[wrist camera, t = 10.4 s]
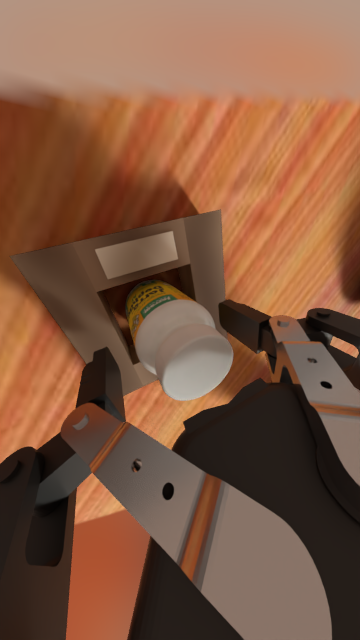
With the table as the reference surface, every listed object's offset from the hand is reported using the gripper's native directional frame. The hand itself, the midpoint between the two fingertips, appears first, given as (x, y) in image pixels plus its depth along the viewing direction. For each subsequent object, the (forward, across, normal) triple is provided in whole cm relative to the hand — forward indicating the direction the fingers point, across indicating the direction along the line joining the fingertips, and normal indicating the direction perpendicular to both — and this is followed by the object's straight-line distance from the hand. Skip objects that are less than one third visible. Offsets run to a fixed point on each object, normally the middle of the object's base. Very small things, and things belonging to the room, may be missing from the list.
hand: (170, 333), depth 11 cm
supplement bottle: (+6, 0, 0) cm, 6 cm away
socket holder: (+6, 0, 0) cm, 6 cm away
